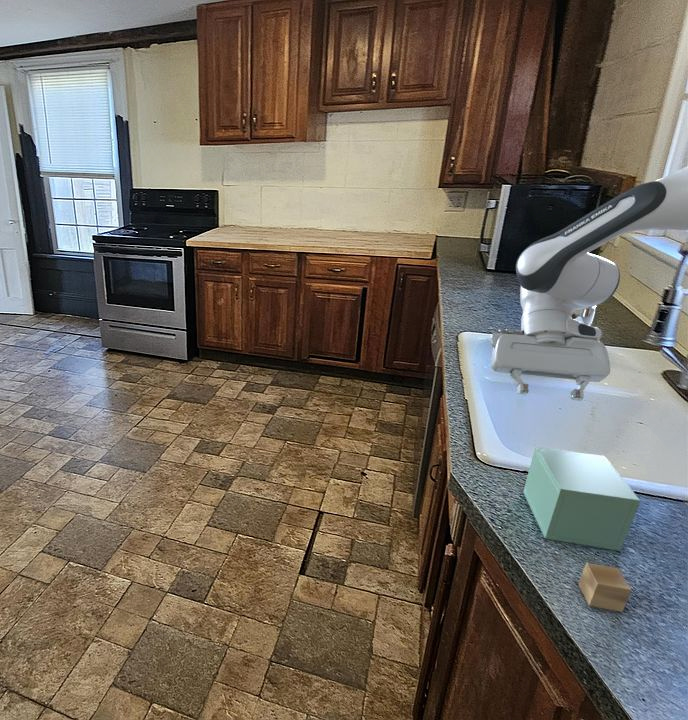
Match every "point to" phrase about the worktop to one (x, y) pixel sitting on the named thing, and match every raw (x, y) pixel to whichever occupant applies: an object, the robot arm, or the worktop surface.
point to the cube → (604, 587)
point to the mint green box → (580, 498)
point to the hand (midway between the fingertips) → (549, 396)
